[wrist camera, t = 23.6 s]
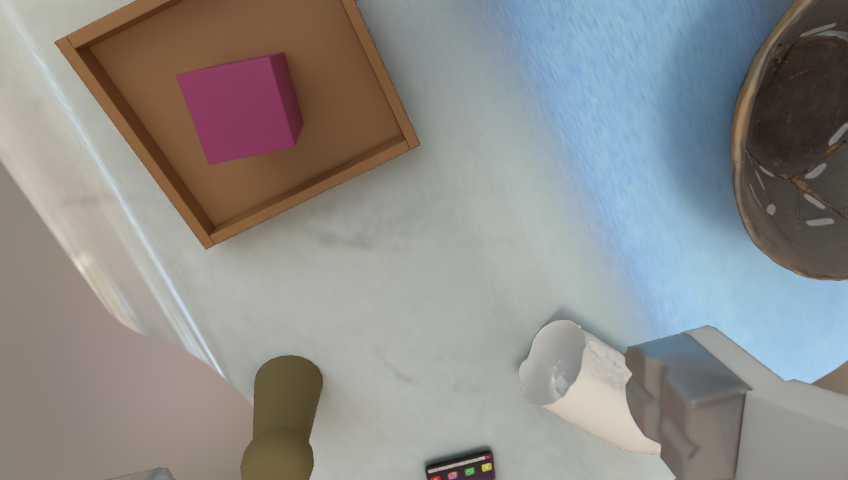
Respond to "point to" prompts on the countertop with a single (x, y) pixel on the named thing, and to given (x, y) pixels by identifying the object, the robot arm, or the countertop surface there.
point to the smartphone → (464, 468)
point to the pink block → (243, 107)
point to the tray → (228, 42)
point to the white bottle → (582, 384)
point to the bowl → (796, 142)
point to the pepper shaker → (283, 420)
